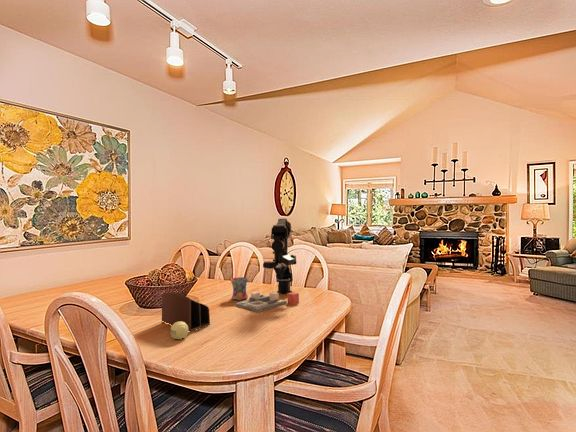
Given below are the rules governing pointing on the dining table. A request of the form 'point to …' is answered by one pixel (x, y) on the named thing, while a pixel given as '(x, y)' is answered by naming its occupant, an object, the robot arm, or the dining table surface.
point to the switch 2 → (274, 296)
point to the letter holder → (184, 311)
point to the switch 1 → (255, 295)
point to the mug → (239, 288)
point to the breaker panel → (260, 303)
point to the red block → (293, 298)
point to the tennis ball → (179, 330)
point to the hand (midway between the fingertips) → (280, 279)
